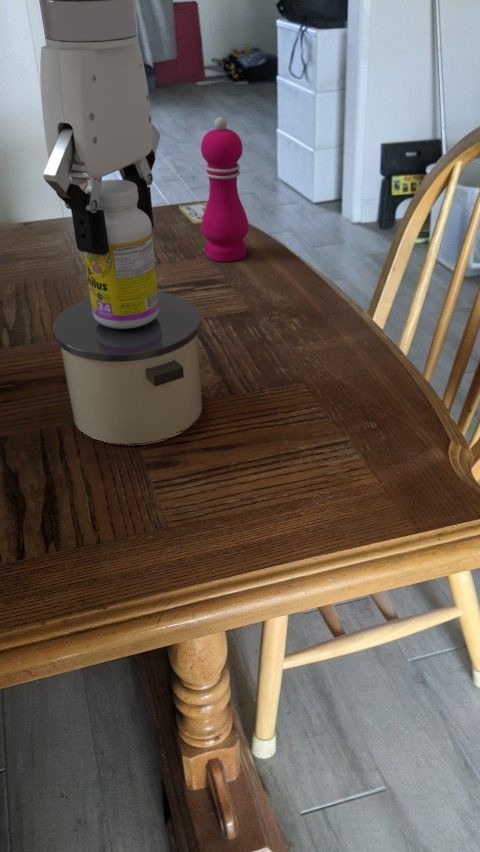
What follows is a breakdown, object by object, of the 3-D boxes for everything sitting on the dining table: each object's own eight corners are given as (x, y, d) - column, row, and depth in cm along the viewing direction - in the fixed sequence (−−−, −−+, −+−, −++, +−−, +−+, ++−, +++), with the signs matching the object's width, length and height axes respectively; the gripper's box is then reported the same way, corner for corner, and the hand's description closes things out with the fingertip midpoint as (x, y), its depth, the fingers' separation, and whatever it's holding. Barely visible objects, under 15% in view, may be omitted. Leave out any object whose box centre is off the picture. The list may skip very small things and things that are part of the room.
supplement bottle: (85, 310, 80) (66, 181, 72) (147, 298, 82) (134, 172, 75) (104, 336, 75) (84, 201, 68) (169, 323, 78) (157, 191, 70)
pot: (109, 471, 77) (93, 374, 70) (45, 397, 88) (27, 308, 81) (236, 424, 83) (233, 332, 77) (162, 361, 94) (154, 276, 88)
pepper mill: (194, 259, 121) (185, 120, 109) (216, 243, 126) (210, 109, 114) (235, 266, 118) (231, 125, 106) (256, 250, 124) (254, 114, 112)
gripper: (114, 8, 71) (135, 207, 82) (-21, 33, 58) (25, 264, 69) (185, 13, 68) (197, 217, 79) (59, 40, 56) (94, 278, 67)
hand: (116, 237), depth 74 cm, fingers closed on supplement bottle, 6 cm apart
